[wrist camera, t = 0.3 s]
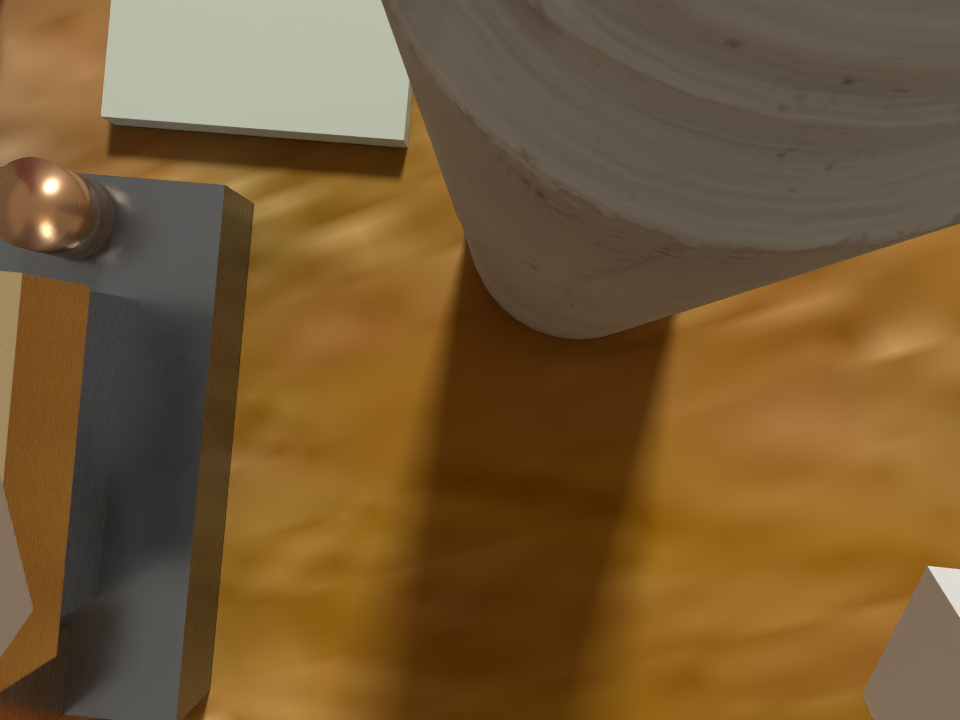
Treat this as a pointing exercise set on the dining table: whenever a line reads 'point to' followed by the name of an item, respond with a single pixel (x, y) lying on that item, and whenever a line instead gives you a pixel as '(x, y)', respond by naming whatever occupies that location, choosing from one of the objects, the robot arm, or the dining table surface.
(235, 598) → the dining table surface
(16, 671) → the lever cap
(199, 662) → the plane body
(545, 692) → the dining table surface
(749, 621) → the dining table surface
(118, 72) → the rubber mat
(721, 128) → the thermos bottle
